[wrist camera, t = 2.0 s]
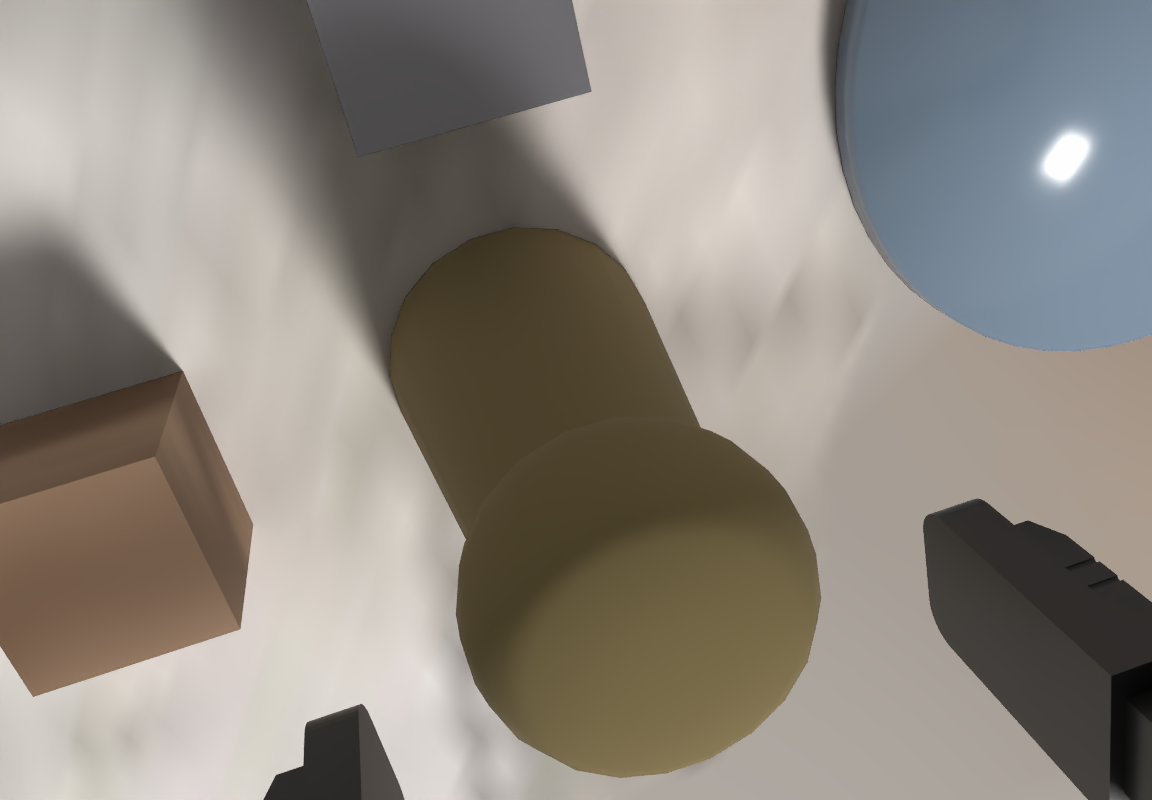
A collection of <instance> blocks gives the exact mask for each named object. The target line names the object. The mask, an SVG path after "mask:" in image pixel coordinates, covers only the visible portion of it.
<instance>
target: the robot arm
mask: <svg viewBox="0 0 1152 800" xmlns="http://www.w3.org/2000/svg"><path fill="white" fill-rule="evenodd" d="M923 532H924V543H925V554H926V566H927V577H928V588H929V599H930V606H931V610H932V613H933V616H934V619H935V621H936V624H937V626H938V628H939V630H940V632H941V634H942V636H943V637H944V639H945V640H946V642H947V643H948V644H949V646H950V647H951V648H952V649H953V650H954V651H955V652H956V653H957V655H958V656H959V657H960V658H961V659H962V660H963V661H964V662H965V664H966V665H967V666H968V667H969V668H970V669H971V670H972V671H973V672H974V674H975V675H976V676H977V677H978V678H979V679H980V680H981V681H982V682H983V684H984V685H985V686H986V687H987V688H988V689H989V690H990V691H991V692H992V693H993V695H994V696H995V697H996V698H997V699H998V700H999V701H1000V702H1001V703H1002V705H1003V706H1004V707H1005V708H1006V709H1007V710H1008V711H1009V712H1010V714H1011V715H1012V716H1013V717H1014V718H1015V719H1016V720H1017V721H1018V722H1019V724H1020V725H1021V726H1022V727H1023V728H1024V729H1025V730H1026V731H1027V732H1028V734H1029V735H1030V736H1031V737H1032V738H1033V739H1034V740H1035V741H1036V742H1037V743H1038V745H1039V746H1040V747H1041V748H1042V749H1043V750H1044V751H1045V752H1046V754H1047V755H1048V756H1049V757H1050V758H1051V759H1052V760H1053V761H1054V762H1055V764H1056V765H1057V766H1058V767H1059V768H1060V769H1061V770H1062V771H1063V772H1064V773H1065V774H1066V776H1067V777H1068V778H1069V779H1070V780H1071V781H1072V782H1073V783H1074V785H1075V786H1076V787H1077V788H1078V789H1079V790H1080V791H1081V792H1082V793H1083V795H1084V796H1085V797H1086V798H1087V799H1088V800H1152V602H1151V601H1149V600H1148V599H1147V598H1145V597H1144V596H1143V595H1142V594H1140V593H1139V592H1138V591H1137V590H1135V589H1134V588H1133V587H1131V586H1130V585H1129V584H1128V583H1126V582H1125V581H1124V580H1122V581H1120V580H1119V579H1118V577H1117V575H1116V574H1115V573H1114V572H1112V571H1111V570H1110V569H1108V568H1107V567H1106V566H1105V565H1103V564H1102V563H1101V562H1096V561H1095V559H1094V557H1093V556H1092V555H1090V554H1089V553H1088V552H1087V551H1086V550H1084V549H1083V548H1082V547H1080V546H1079V545H1078V544H1076V543H1075V542H1074V541H1073V540H1072V539H1070V538H1069V537H1068V536H1066V535H1064V534H1061V533H1059V532H1056V531H1054V530H1051V529H1049V528H1046V527H1043V526H1041V525H1038V524H1036V523H1033V522H1030V521H1025V522H1022V523H1019V524H1016V525H1013V524H1012V523H1011V522H1010V521H1008V520H1007V519H1006V518H1005V517H1004V516H1002V515H1001V514H1000V513H999V512H997V511H996V510H995V509H994V508H992V506H990V505H989V504H988V503H986V502H985V501H983V500H981V499H974V500H971V501H967V502H965V503H962V504H959V505H956V506H953V507H950V508H947V509H944V510H941V511H938V512H935V513H932V514H929V515H927V516H926V518H925V519H924V525H923ZM264 800H404V797H403V794H402V791H401V788H400V785H399V783H398V780H397V778H396V776H395V773H394V771H393V769H392V766H391V764H390V762H389V759H388V757H387V755H386V752H385V750H384V748H383V746H382V743H381V741H380V739H379V736H378V734H377V732H376V729H375V727H374V725H373V722H372V720H371V718H370V716H369V713H368V711H367V710H366V708H365V707H364V705H362V704H360V705H357V706H354V707H351V708H348V709H345V710H342V711H339V712H336V713H333V714H330V715H327V716H324V717H321V718H318V719H315V720H312V721H309V722H307V724H306V727H305V739H304V766H302V767H299V768H296V769H293V770H290V771H287V772H284V773H281V774H278V775H276V776H275V778H274V780H273V782H272V784H271V786H270V788H269V790H268V792H267V794H266V796H265V798H264Z"/></svg>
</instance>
